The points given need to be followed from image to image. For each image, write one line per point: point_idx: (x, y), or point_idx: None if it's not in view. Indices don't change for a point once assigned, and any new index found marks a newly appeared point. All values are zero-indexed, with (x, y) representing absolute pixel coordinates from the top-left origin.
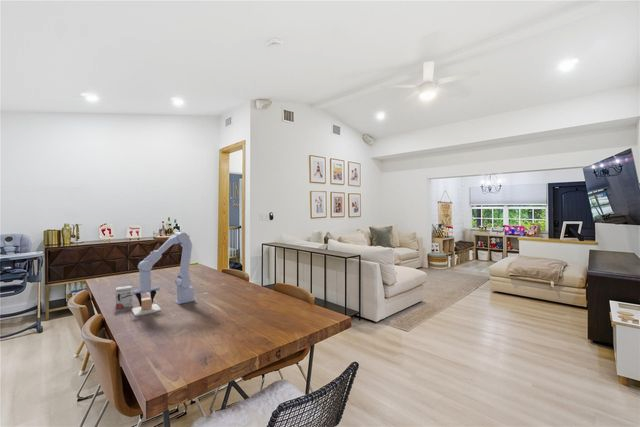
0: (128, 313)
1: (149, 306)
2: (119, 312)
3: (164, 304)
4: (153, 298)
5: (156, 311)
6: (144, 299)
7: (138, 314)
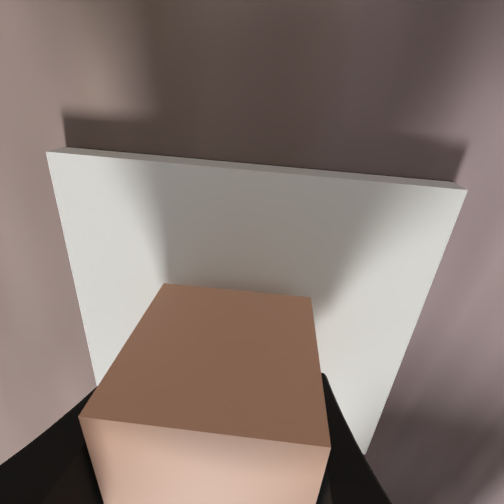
0: (434, 367)
1: (193, 302)
2: (476, 453)
3: (35, 368)
4: (44, 433)
5: (127, 154)
6: (241, 493)
7: (402, 181)
